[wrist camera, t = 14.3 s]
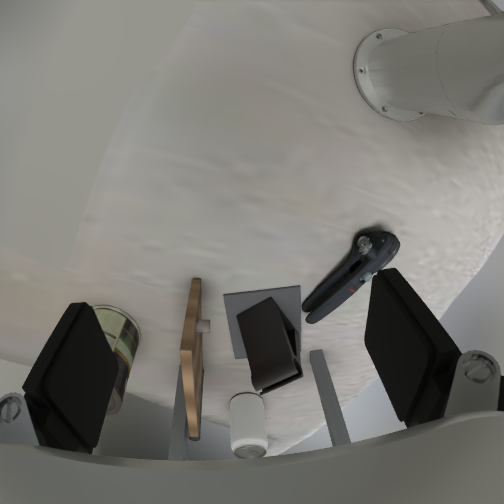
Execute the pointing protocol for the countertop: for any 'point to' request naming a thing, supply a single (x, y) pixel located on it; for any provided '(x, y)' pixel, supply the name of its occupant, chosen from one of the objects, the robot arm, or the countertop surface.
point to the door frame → (327, 396)
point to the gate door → (193, 359)
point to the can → (248, 426)
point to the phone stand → (270, 346)
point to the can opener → (352, 273)
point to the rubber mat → (243, 301)
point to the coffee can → (119, 348)
